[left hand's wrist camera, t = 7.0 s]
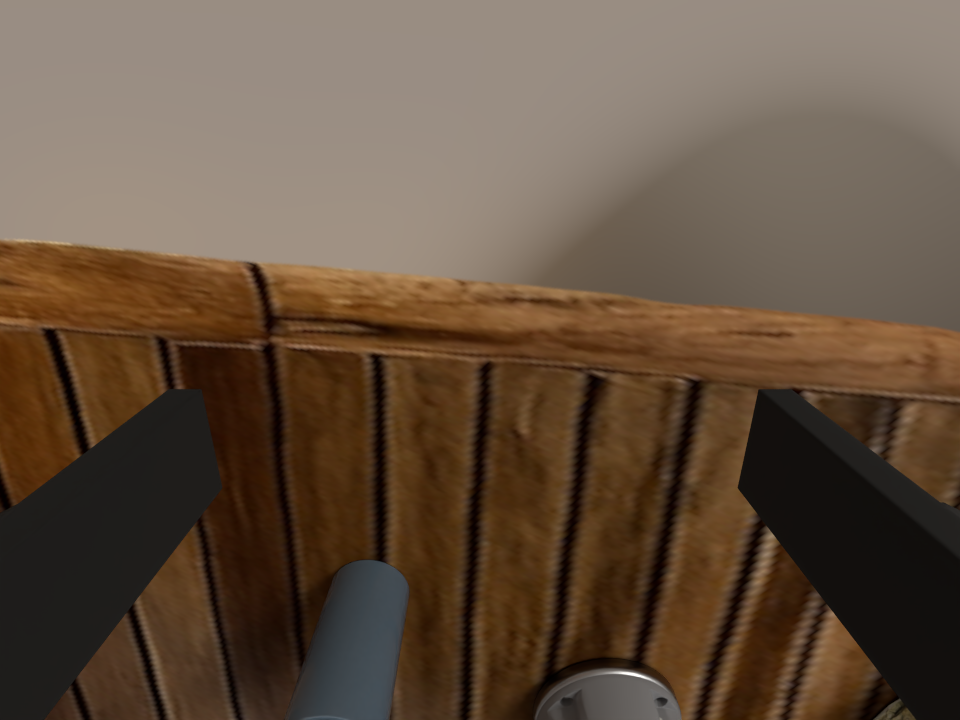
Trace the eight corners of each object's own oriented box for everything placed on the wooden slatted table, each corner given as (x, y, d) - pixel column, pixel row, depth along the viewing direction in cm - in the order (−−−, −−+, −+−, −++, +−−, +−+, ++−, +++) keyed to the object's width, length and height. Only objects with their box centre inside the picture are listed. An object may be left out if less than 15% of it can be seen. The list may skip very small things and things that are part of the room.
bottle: (320, 603, 51) (229, 858, 33) (347, 548, 49) (266, 789, 30) (391, 629, 53) (343, 888, 34) (421, 576, 50) (387, 824, 32)
